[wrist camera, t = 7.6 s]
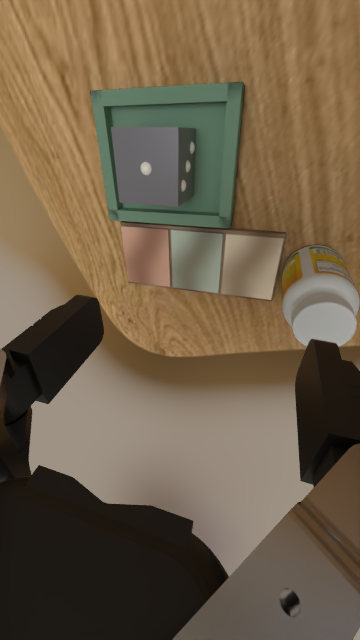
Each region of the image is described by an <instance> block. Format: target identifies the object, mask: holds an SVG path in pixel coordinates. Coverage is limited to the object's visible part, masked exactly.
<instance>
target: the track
mask: <svg viewBox="0 0 360 640" xmlns="http://www.w3.org/2000/svg"><path fill="white" fill-rule="evenodd" d="M121 230H122V238H123V245H124V253H125V260H126V268H127V275H128V282H129V283H136V284H144V285H151V286H159V287H167V288H174V289H182V290H190V291H197V292H205V293H212V294H220V295H228V296H235V297H243V298H251V299H258V300H266V301H272V299H273V294H274V290H275V285H276V280H277V275H278V271H279V266H280V261H281V256H282V252H283V247H284V242H285V237H286V232H273V231H258V230H244V229H230V228H214V227H200V226H186V225H172V224H158V223H144V222H130V221H122V222H121Z"/></svg>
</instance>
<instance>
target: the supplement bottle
mask: <svg viewBox="0 0 360 640" xmlns="http://www.w3.org/2000/svg"><path fill="white" fill-rule="evenodd" d="M359 304H360V301H359V295H358V292H357V290H356V288H355V285H354V283H353V281H352V279H351V277H350V275H349V273H348V271H347V269H346V266H345V264H344V262H343V260H342V258H341V257H340V255H339V254H338V253H337V252H336V251H334V250H333V249H331V248H329V247H326V246H321V245H313V246H307V247H304V248H302V249H300V250H298V251H296V252H295V253H293V254H292V255H291V256H290V257H289V259H288V260H287V261H286V263H285V265H284V267H283V271H282V310H283V314H284V317H285V319H286V321H287V322H288V323H289V324H290V326H292V330H293V333H294V336H295V337H296V339H297V340H298V341H299V342H300V343H302V344H303V345H305V346H308V343H309V341H310V340H311V339H317V340H322V341H327V342H333V343H336V344H337V345H338V347H339V346H341V345H343V344H345V343H346V342H347V341H348V340H350V339H351V338H352V336H353V335H354V333H355V331H356V327H357V321H356V317H355V316H356V315H357V313H358V310H359Z"/></svg>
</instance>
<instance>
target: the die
mask: <svg viewBox="0 0 360 640" xmlns="http://www.w3.org/2000/svg"><path fill="white" fill-rule="evenodd" d="M111 133H112V141H113V150H114V159H115V168H116V177H117V185H118V194H119V202H121V203H134V204H147V205H160V206H174V207H179V206H180V205H181V204H183V203H184V202H185V201H187V200H188V199H189V198H191V197H192V196H193V195H194V180H195V150H196V128H182V127H111Z"/></svg>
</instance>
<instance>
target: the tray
mask: <svg viewBox="0 0 360 640" xmlns="http://www.w3.org/2000/svg"><path fill="white" fill-rule="evenodd" d="M244 90H245V85H244V83H243V82H232V83H215V84H198V85H181V86H164V87H147V88H129V89H112V90H95V91H90V93H91V99H92V106H93V113H94V119H95V126H96V132H97V139H98V145H99V152H100V158H101V165H102V171H103V178H104V184H105V191H106V197H107V204H108V210H109V217H110V220H116V221H130V222H144V223H158V224H172V225H186V226H200V227H214V228H230V226H231V224H232V217H233V206H234V196H235V185H236V175H237V164H238V153H239V143H240V132H241V122H242V111H243V101H244ZM111 127H182V128H196V150H195V180H194V195H193V196H192V197H191V198H189V199H188V200H187V201H185V202H184V203H183V204H181V205H180V206H179V207H174V206H160V205H147V204H134V203H121V202H119V194H118V185H117V177H116V168H115V159H114V150H113V141H112V133H111Z"/></svg>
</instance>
